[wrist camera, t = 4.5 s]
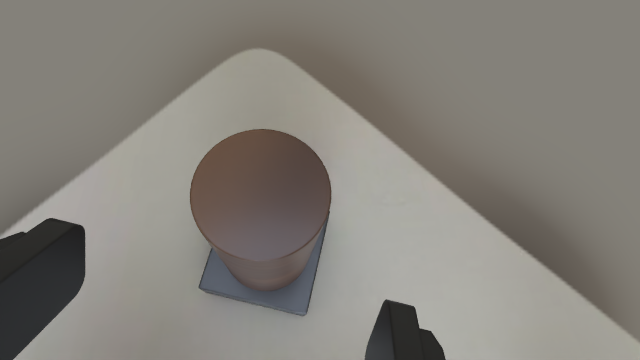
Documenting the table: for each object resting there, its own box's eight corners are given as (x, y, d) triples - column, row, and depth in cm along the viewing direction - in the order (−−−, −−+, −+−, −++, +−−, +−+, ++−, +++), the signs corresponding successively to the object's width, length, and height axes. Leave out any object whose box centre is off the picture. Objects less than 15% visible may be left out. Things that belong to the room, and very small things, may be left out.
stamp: (205, 292, 20) (143, 255, 10) (235, 198, 22) (204, 97, 12) (304, 316, 20) (328, 300, 11) (325, 221, 22) (362, 136, 12)
